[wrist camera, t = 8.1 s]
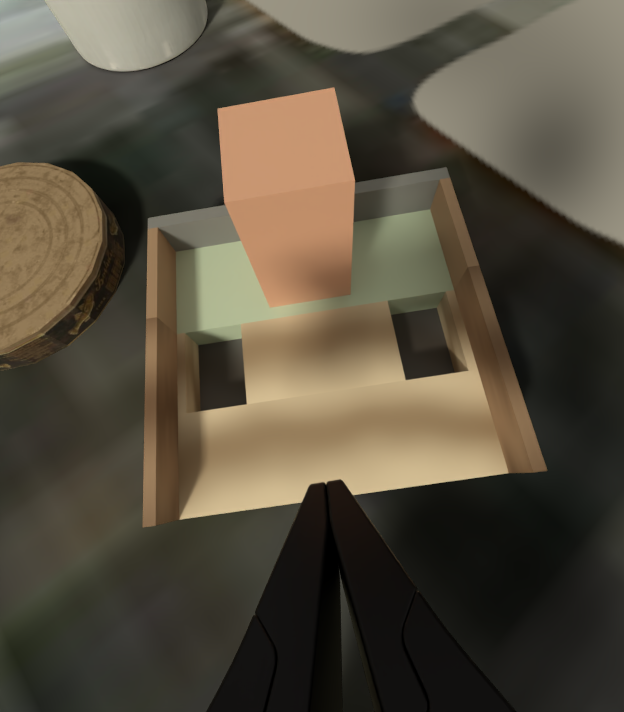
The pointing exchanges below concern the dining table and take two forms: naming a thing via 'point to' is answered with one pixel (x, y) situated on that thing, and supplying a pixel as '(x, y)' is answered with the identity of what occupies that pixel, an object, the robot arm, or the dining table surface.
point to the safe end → (368, 285)
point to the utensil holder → (130, 30)
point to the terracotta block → (291, 194)
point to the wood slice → (52, 260)
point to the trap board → (331, 406)
